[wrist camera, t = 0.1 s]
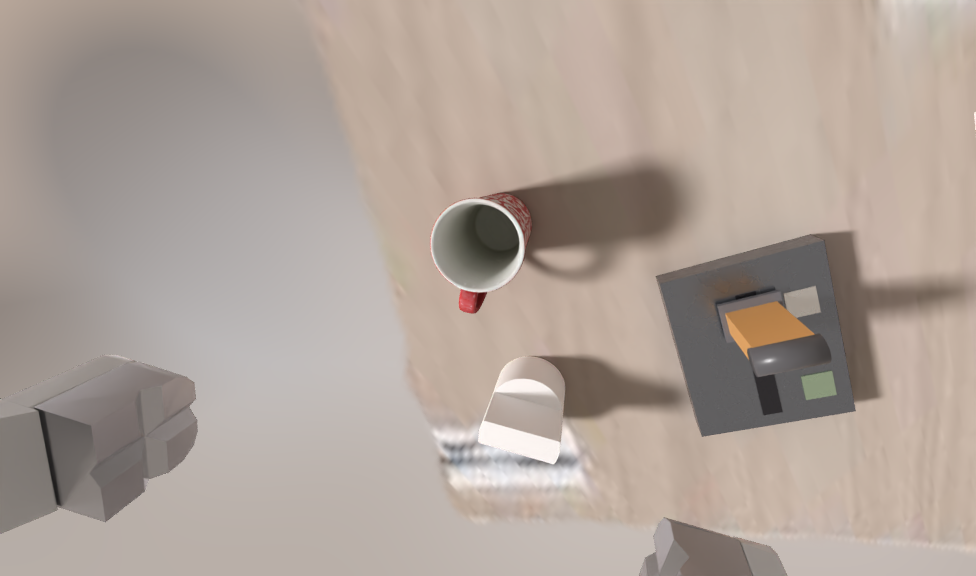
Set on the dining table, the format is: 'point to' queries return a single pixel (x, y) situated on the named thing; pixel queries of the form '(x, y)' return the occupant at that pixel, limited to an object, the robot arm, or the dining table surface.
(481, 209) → the mug
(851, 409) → the grey slotted base
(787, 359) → the handle
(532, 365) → the cylinder with rectangular tab
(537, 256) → the dining table surface
